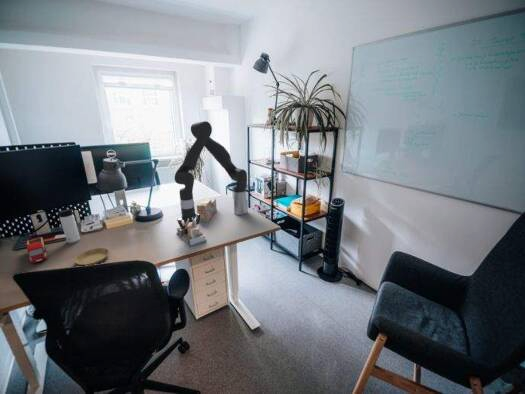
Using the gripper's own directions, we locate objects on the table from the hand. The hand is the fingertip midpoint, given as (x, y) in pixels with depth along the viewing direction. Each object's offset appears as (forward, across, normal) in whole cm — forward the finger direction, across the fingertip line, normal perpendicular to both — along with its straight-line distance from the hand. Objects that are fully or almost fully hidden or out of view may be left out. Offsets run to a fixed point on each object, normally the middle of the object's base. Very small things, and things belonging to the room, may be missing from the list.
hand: (190, 232), depth 147 cm
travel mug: (+3, +55, -40) cm, 68 cm away
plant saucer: (+4, +49, -10) cm, 50 cm away
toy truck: (+4, +70, -33) cm, 78 cm away
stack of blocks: (+4, -23, -23) cm, 33 cm away
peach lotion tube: (+1, 0, 0) cm, 1 cm away
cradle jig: (+3, 0, 0) cm, 3 cm away
